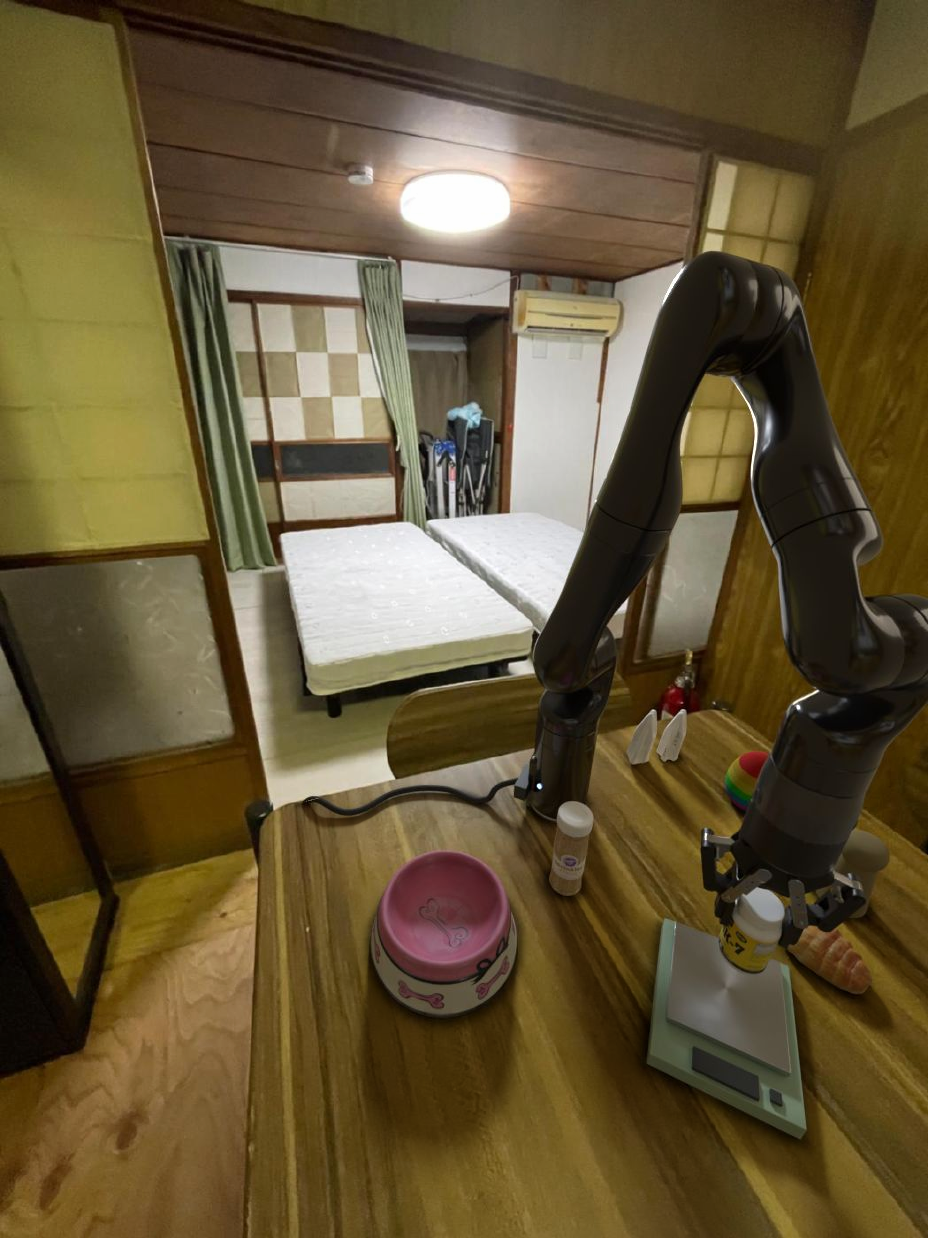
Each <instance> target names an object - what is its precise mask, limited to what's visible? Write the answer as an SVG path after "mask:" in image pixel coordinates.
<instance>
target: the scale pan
mask: <svg viewBox="0 0 928 1238" xmlns="http://www.w3.org/2000/svg"><path fill="white" fill-rule="evenodd" d="M674 922H675V925H674V934H673V945H672V956H671V967H670V978H669V989H668V1000H667V1011H666V1021H668V1022H670V1023H672V1024H674V1025H676V1026H678V1027H681V1028H683V1029H685V1030H687V1031H689V1032H691V1033H694V1034H696V1035H698V1036H700V1037H702V1038H704V1039H707V1040H709V1041H711V1042H713V1043H715V1044H718V1045H720V1046H722V1047H724V1048H726V1049H728V1050H731V1051H733V1052H735V1053H737V1054H739V1055H741V1056H744V1057H746V1058H748V1059H750V1060H752V1061H755V1062H757V1063H759V1064H761V1065H763V1066H765V1067H768V1068H770V1069H772V1070H774V1071H776V1072H778V1073H781V1074H783V1075H785V1076H787V1077H789V1076H790V1074H791V1067H790V1057H789V1046H788V1036H787V1025H786V1015H785V1004H784V994H783V983H782V972H781V961H778V960H776V959H773V958H772V957H771V958H770V960H769V962H768V964H767V967H766V969H765V970H764V971H763V972H762V973H761V974H758V975H754V976H751V975H745V974H742V973H740V972H738V971H736V970H735V969H733V968H732V967H731V966H730V965H729V964H728V963H727V962H726V961H725V960H724V958H723V957H722V955H721V953H720V951H719V948H718V936H714V935H712V934H709V933H707V932H704V931H702V930H699V929H697V928H694V927H691V926H689V925H686V924H683V923H682V922H681V923H680V922H679V921H674Z"/></svg>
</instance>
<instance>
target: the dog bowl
mask: <svg viewBox="0 0 928 1238" xmlns="http://www.w3.org/2000/svg"><path fill="white" fill-rule="evenodd" d="M371 925H372V926H371V931H370V938H369V939H370V941H369V945H370V946H369V948H370V957H371V963H372V966H373V969H374V971H375V974H376V976H377V978H378V980H379V982H380V983H381V985H382V986H383V987H384V989H385V990H386V991H387V993H388V994H389V995H390V996H391V997H392V998H393V1000H395V1001H396V1002H397V1003H399V1004H400V1005H401V1006H403V1007H404V1008H406V1009H407V1010H409V1011H411V1012H413V1013H416V1014H418V1015H421V1016H424V1017H430V1018H437V1019H448V1018H456V1017H461V1016H464V1015H467V1014H470V1013H473V1012H475V1011H477V1010H478V1009H480V1008H483V1007H484V1006H486V1005H487V1004H488V1003H489V1002H490V1001H492V1000H493V999H494V998H495V997H496V996H497V995H498V994H499V993H500V992H501V991H502V989H503V988H504V987H505V986H506V984H507V982H508V980H509V978H510V976H511V974H512V972H513V969H514V966H515V963H516V959H517V954H518V952H517V951H518V931H517V924H516V921H515V919H514V915H513V913H512V910H511V904H510V900H509V897H508V894H507V892H506V889H505V887H504V886H503V883H502V881H501V880H500V877H498V875H497V874H496V872H495V871H494V869H492V868H491V867H490V866H489V865H488V864H486V863H485V862H483V860H481V859H480V858H477V857H475V856H473V855H471V854H469V853H466V852H464V851H458V850H452V849H451V850H450V849H440V850H439V849H438V850H432V851H427V852H425V853H422V854H420V855H417V856H415V857H413V858H411V859H410V860H408V861H407V862H405V863H403V865H402V866H400V867H399V868H398V869H397V870H396V871H395V873H394V874H393V875H392V877H391V878H390V880H389V881H388V882H387V884H386V887H385V889H384V891H383V892H382V895H381V897H380V899H379V903H378V906H377V911H376V914H375V918H374V920H373V922H372V924H371Z"/></svg>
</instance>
